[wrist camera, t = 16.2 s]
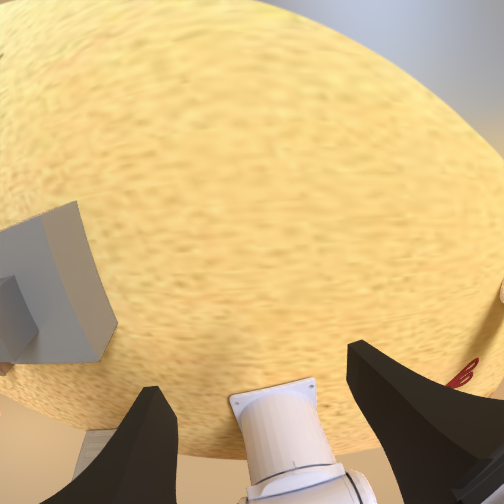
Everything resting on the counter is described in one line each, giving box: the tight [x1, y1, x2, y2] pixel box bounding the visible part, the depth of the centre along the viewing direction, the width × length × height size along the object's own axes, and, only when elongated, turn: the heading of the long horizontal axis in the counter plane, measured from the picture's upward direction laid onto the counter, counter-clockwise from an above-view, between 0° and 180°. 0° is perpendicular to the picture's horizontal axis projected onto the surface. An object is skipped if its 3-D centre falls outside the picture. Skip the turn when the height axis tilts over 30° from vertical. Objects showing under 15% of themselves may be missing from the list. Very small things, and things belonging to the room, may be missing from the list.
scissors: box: [446, 358, 479, 389], centre depth 30 cm, size 5×14×1 cm, turn 102°
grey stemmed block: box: [0, 201, 118, 364], centre depth 13 cm, size 10×10×8 cm
